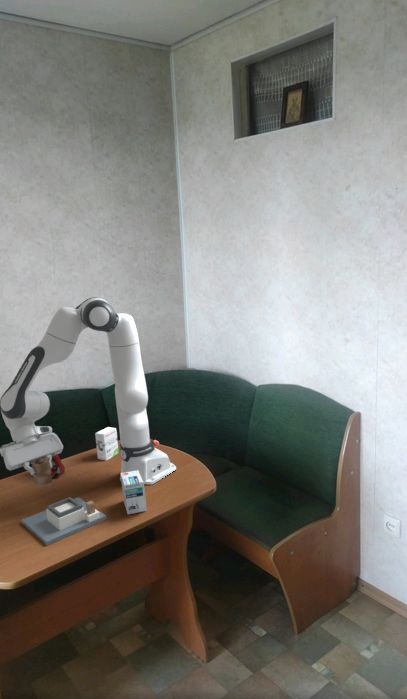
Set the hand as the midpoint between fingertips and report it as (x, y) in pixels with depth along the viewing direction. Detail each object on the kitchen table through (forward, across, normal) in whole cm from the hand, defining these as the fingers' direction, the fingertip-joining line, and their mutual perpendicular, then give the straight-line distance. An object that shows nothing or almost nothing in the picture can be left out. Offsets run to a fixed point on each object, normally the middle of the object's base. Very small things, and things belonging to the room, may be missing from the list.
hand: (42, 471), depth 183 cm
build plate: (+19, 0, 0) cm, 19 cm away
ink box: (-6, +38, +26) cm, 47 cm away
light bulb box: (+26, +22, -5) cm, 34 cm away
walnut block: (+3, 0, +4) cm, 4 cm away
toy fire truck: (-8, +14, +28) cm, 32 cm away
